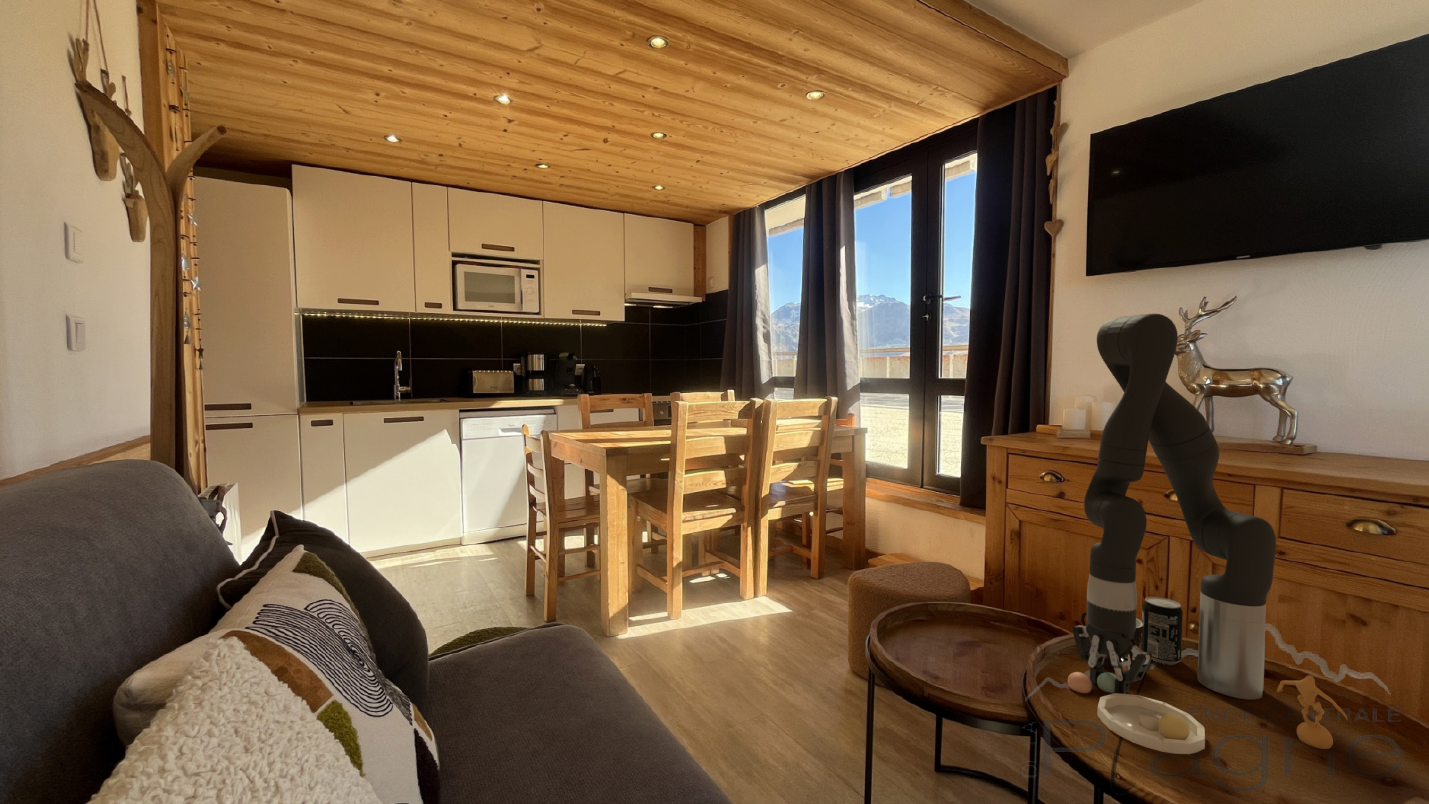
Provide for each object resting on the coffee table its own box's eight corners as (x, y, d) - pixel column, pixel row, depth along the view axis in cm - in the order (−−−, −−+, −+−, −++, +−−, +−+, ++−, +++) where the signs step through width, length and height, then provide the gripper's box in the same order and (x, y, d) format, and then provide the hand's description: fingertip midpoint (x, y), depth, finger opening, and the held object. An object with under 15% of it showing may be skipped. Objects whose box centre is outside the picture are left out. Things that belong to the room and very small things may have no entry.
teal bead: (1105, 686, 110) (1106, 666, 110) (1126, 696, 106) (1126, 676, 106) (1091, 690, 108) (1092, 670, 108) (1112, 701, 105) (1112, 680, 105)
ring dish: (1133, 701, 105) (1134, 687, 104) (1225, 747, 92) (1225, 731, 91) (1078, 717, 100) (1079, 703, 99) (1167, 768, 87) (1167, 751, 86)
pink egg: (1077, 686, 110) (1077, 666, 110) (1096, 696, 106) (1097, 676, 106) (1062, 690, 108) (1063, 670, 108) (1081, 700, 105) (1082, 680, 105)
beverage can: (1156, 649, 125) (1158, 594, 124) (1189, 664, 118) (1191, 606, 118) (1133, 653, 123) (1134, 597, 123) (1164, 668, 117) (1166, 609, 116)
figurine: (1357, 761, 88) (1360, 684, 88) (1335, 770, 86) (1338, 691, 86) (1287, 730, 96) (1290, 659, 96) (1266, 738, 94) (1268, 665, 93)
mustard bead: (1168, 729, 95) (1169, 707, 94) (1194, 743, 91) (1195, 720, 91) (1153, 735, 93) (1153, 711, 93) (1179, 749, 90) (1179, 725, 89)
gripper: (1166, 612, 101) (1163, 709, 102) (1088, 585, 115) (1086, 671, 115) (1137, 618, 99) (1134, 717, 99) (1061, 590, 112) (1059, 678, 113)
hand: (1108, 692), depth 107 cm, fingers closed on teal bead, 3 cm apart
